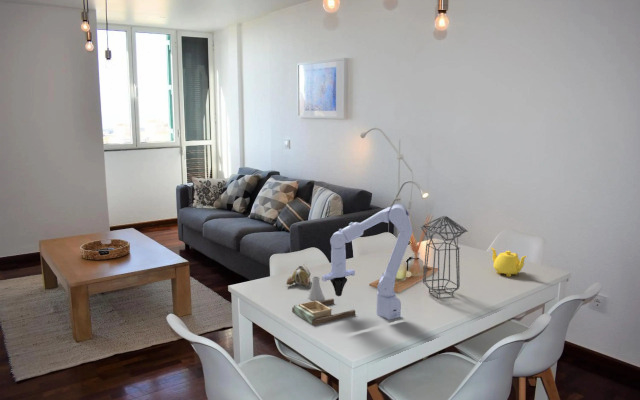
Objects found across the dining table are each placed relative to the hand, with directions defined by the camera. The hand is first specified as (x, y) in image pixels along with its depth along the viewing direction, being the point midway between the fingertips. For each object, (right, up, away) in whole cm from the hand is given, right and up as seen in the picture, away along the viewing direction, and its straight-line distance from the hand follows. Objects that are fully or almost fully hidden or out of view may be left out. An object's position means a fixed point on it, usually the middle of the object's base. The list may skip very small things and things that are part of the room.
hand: (338, 295), depth 212 cm
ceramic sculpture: (-16, -1, +36) cm, 39 cm away
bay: (-6, -7, -2) cm, 10 cm away
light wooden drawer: (-9, -7, -5) cm, 12 cm away
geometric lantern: (+45, -4, +22) cm, 51 cm away
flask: (-9, -5, +14) cm, 18 cm away
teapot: (+86, +1, +53) cm, 101 cm away
